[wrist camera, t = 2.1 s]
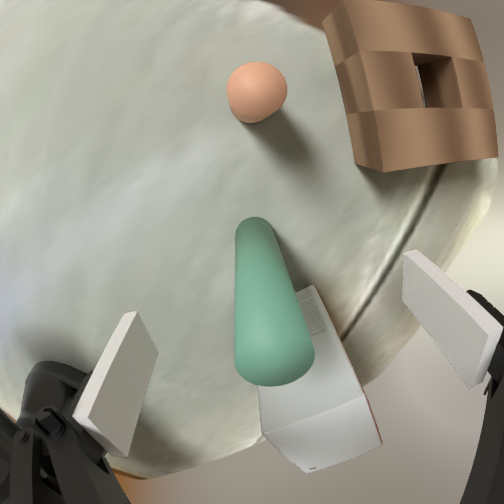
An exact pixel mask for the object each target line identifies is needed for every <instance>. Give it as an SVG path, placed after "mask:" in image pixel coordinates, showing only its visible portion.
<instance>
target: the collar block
mask: <svg viewBox="0 0 504 504" xmlns="http://www.w3.org/2000/svg"><path fill="white" fill-rule="evenodd" d="M322 24H323V27H324V30H325V34H326V37H327V40H328V44H329V47H330V50H331V54H332V58H333V61H334V65H335V69H336V73H337V77H338V81H339V85H340V89H341V93H342V98H343V102H344V107H345V111H346V116H347V121H348V126H349V131H350V137H351V142H352V148H353V154H354V160H355V164H357V165H361V166H364V167H367V168H371V169H374V170H377V171H380V172H390V171H396V170H403V169H409V168H416V167H422V166H429V165H437V164H444V163H452V162H460V161H468V160H477V159H486V158H496V157H498V146H497V135H496V125H495V117H494V111H493V104H492V98H491V92H490V87H489V82H488V78H487V73H486V69H485V65H484V61H483V57H482V53H481V50H480V46H479V43H478V39H477V36H476V33H475V30H474V27H473V25H472V22H471V19H469V18H466V17H462V16H459V15H455V14H451V13H447V12H443V11H439V10H434V9H429V8H425V7H419V6H414V5H408V4H401V3H393V2H385V1H375V0H341V1H340V2H339V3H338V4H337V5H336V7H335V8H334V9H333V10H332V11H331V13H330V14H329V15H328V16H327V17H326V19H325V20H324V21H323V22H322ZM415 65H416V66H418V70H419V74H420V78H421V83H422V87H423V92H424V97H425V102H426V108H424V107H423V101H422V96H421V91H420V87H419V82H418V78H417V74H416V70H415Z"/></svg>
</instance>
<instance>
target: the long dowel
mask: <svg viewBox="0 0 504 504" xmlns="http://www.w3.org/2000/svg"><path fill="white" fill-rule="evenodd" d="M314 359H315V350H314V346H313V343H312V340H311V337H310V334H309V331H308V328H307V325H306V322H305V319H304V316H303V313H302V311H301V308H300V305H299V302H298V299H297V296H296V293H295V290H294V287H293V285H292V282H291V279H290V276H289V273H288V270H287V268H286V265H285V262H284V259H283V256H282V253H281V251H280V248H279V245H278V242H277V240H276V237H275V234H274V231H273V229H272V226H271V225H270V224H269V222H267V221H266V220H265V219H263V218H259V217H250V218H247V219H245V220H244V221H242V222H241V223H240V224H239V226H238V227H237V230H236V241H235V366H236V369H237V371H238V373H239V374H240V375H241V376H242V377H243V378H244V379H245V380H247V381H248V382H250V383H253V384H256V385H259V386H266V387H275V386H282V385H286V384H289V383H292V382H294V381H296V380H298V379H299V378H301V377H302V376H304V375H305V374H306V373H307V372H308V371H309V369H310V368H311V366H312V365H313V362H314Z"/></svg>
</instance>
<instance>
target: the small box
mask: <svg viewBox="0 0 504 504" xmlns="http://www.w3.org/2000/svg"><path fill="white" fill-rule="evenodd" d="M295 293H296V296H297V299H298V302H299V305H300V308H301V311H302V313H303V316H304V319H305V322H306V325H307V328H308V331H309V334H310V337H311V340H312V343H313V346H314V350H315V359H314V362H313V365H312V366H311V368H310V369H309V371H308V372H307V373H306V374H305V375H304V376H302V377H301V378H299V379H298V380H296V381H294V382H292V383H289V384H286V385H282V386H275V387H266V386H259V385H257V387H258V397H259V410H260V420H261V431H262V434H263V435H264V436H265V438H266V439H267V440H268V441H269V442H270V443H272V445H273V446H274V447H275V448H277V449H278V450H279V451H280V452H281V454H282V455H283V456H284V457H285V458H286V459H287V460H289V461H290V462H292V463H293V464H294V465H295V466H297V467H298V468H299V469H300V470H302V471H303V472H304V473H310V472H314V471H318V470H321V469H324V468H327V467H330V466H333V465H336V464H339V463H342V462H344V461H347V460H349V459H352V458H355V457H357V456H359V455H362V454H364V453H366V452H368V451H371V450H373V449H375V448H377V447H380V446H382V440H381V437H380V433H379V430H378V427H377V424H376V421H375V419H374V416H373V413H372V410H371V407H370V404H369V402H368V399H367V397H366V394H365V392H364V390H363V388H362V386H361V383H360V381H359V379H358V377H357V375H356V373H355V370H354V368H353V366H352V364H351V361H350V359H349V357H348V355H347V352H346V350H345V348H344V346H343V344H342V342H341V340H340V338H339V335H338V333H337V331H336V329H335V327H334V325H333V323H332V321H331V319H330V317H329V314H328V312H327V310H326V308H325V306H324V304H323V302H322V300H321V298H320V295H319V293H318V291H317V289H316V287H315V285H310V286H308V287H306V288H304V289H302V290H300V291H298V292H295Z"/></svg>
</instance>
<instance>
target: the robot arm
mask: <svg viewBox="0 0 504 504" xmlns="http://www.w3.org/2000/svg"><path fill="white" fill-rule="evenodd" d="M402 301H403V302H404V303H405V305H406V306H407V307H408V308H409V310H410V311H411V312H412V313H413V315H414V316H415V317H416V318H417V320H418V321H419V322H420V323H421V325H422V326H423V327H424V328H425V330H426V331H427V332H428V334H429V335H430V336H431V338H432V339H433V340H434V342H435V343H436V344H437V346H438V347H439V348H440V349H441V351H442V352H443V354H444V355H445V356H446V358H447V359H448V361H449V362H450V363H451V365H452V366H453V368H454V369H455V370H456V372H457V373H458V375H459V376H460V378H461V379H462V380H463V382H464V383H465V385H466V386H467V388H468V389H470V388H472V387H474V386H475V385H477V384H479V383H481V382H483V380H484V377H485V375H486V372H487V371H488V372H489V373H490V375H491V379H490V381H489V383H488V385H487V387H486V389H485V391H484V395H486V393H487V391H488V396H487V403H486V410H485V415H484V421H483V426H482V431H481V435H480V440H479V444H478V448H477V452H476V456H475V459H474V463H473V466H472V469H471V473H470V476H469V479H468V482H467V485H466V488H465V491H464V494H463V496H462V499H461V502H460V504H504V316H503V315H502V314H501V313H500V312H499V311H498V310H497V309H496V308H495V307H493V305H491V304H490V302H488V301H487V300H486V299H485V298H484V297H483V296H482V295H481V294H479V293H477V292H475V291H472V290H468V291H465V290H464V289H463V288H461V287H460V286H459V285H458V284H457V283H456V282H455V281H453V280H452V279H451V278H450V277H449V276H447V274H445V273H444V272H443V271H442V270H441V269H439V268H438V267H437V266H436V265H435V264H433V263H432V262H431V261H430V260H429V259H427V258H426V257H425V256H424V255H422V254H421V253H420V252H419V251H417V250H412V251H408V252H405V253H403V291H402ZM157 355H158V351H157V349H156V347H155V345H154V343H153V341H152V339H151V338H150V336H149V334H148V332H147V330H146V328H145V326H144V324H143V322H142V320H141V318H140V315H139V313H138V311H135V312H129V313H125V314H124V315H123V317H122V319H121V321H120V322H119V324H118V326H117V328H116V330H115V331H114V333H113V335H112V337H111V339H110V341H109V343H108V344H107V346H106V348H105V350H104V352H103V354H102V356H101V358H100V360H99V362H98V363H97V365H96V367H95V369H94V371H91V372H90V373H89V374H88V375H85V374H83V373H82V372H80V371H78V370H76V369H74V368H72V367H69V366H67V365H64V364H61V363H57V362H51V361H43V362H39V363H37V364H36V365H35V366H34V367H33V369H32V370H31V372H30V373H29V375H28V376H27V379H26V383H25V389H24V394H23V399H22V406H21V413H20V416H19V418H18V420H17V422H16V424H15V423H14V422H13V421H12V420H11V419H10V417H9V416H8V415H7V414H5V412H4V411H3V410H2V409H1V408H0V504H131V503H130V501H129V500H128V498H127V496H126V494H125V493H124V491H123V489H122V488H121V486H120V484H119V482H118V480H117V479H116V477H115V475H114V473H113V471H112V469H111V467H110V465H109V463H108V461H107V459H106V458H105V457H104V456H105V454H106V453H107V452H108V453H109V454H110V455H112V456H116V457H125V458H128V454H129V450H130V446H131V443H132V439H133V435H134V432H135V428H136V424H137V421H138V417H139V414H140V410H141V407H142V404H143V400H144V397H145V394H146V390H147V387H148V384H149V381H150V377H151V374H152V371H153V368H154V365H155V362H156V358H157Z"/></svg>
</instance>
